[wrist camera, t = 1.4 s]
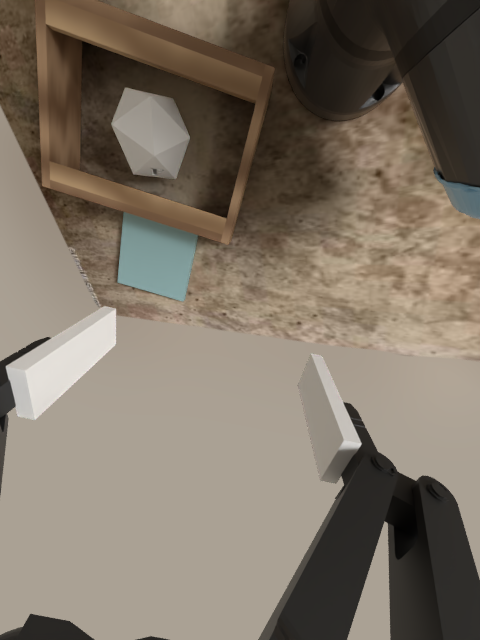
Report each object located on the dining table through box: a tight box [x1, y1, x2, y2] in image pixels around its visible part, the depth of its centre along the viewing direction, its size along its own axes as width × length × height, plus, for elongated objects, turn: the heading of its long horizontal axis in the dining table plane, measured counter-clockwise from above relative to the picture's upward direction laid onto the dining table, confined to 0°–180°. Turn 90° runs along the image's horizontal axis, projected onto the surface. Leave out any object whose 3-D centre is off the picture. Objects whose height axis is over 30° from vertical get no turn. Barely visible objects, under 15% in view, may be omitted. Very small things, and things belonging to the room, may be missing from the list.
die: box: [111, 88, 190, 179], centre depth 28 cm, size 8×9×10 cm
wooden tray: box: [35, 0, 275, 245], centre depth 29 cm, size 18×24×6 cm
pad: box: [118, 212, 199, 301], centre depth 37 cm, size 11×11×1 cm
